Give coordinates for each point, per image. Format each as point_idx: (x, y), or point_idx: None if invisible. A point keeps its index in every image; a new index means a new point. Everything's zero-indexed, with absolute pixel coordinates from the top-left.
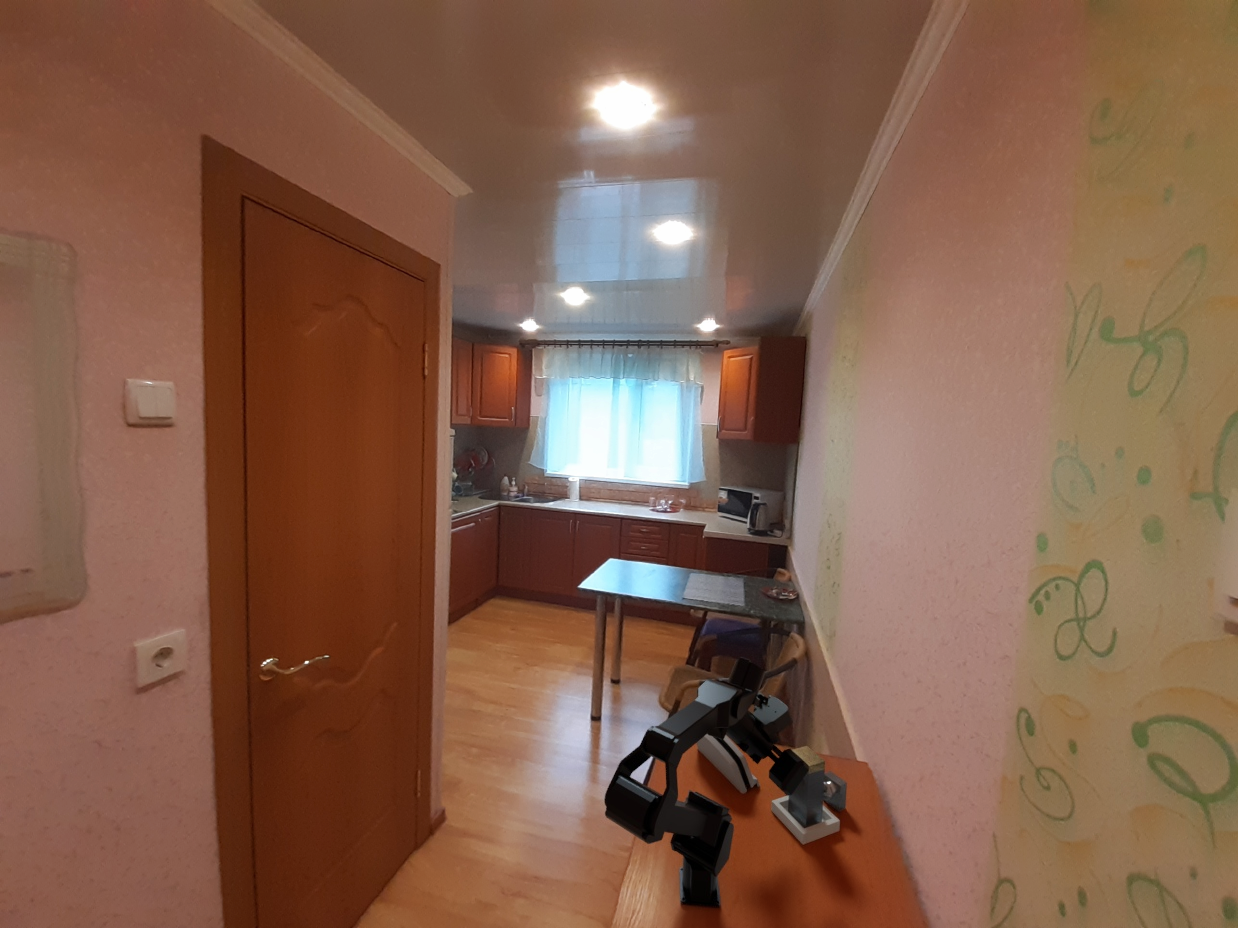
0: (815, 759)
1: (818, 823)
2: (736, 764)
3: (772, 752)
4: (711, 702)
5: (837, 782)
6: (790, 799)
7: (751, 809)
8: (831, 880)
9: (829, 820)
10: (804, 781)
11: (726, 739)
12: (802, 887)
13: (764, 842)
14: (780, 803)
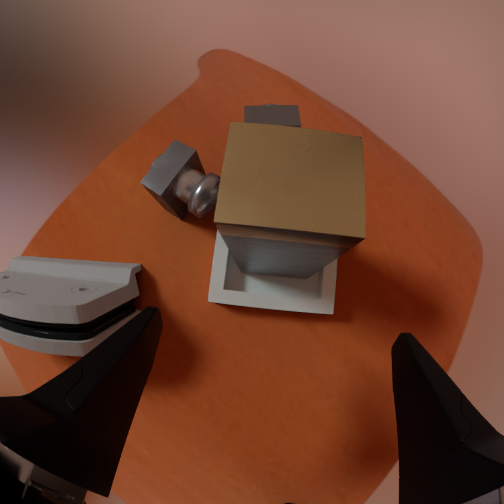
0: (335, 165)
1: None
2: (89, 342)
3: (157, 308)
4: None
5: (287, 122)
6: (246, 268)
7: (187, 343)
8: (408, 325)
9: None
10: (422, 347)
11: (19, 311)
12: (392, 389)
13: (279, 388)
14: (224, 283)
